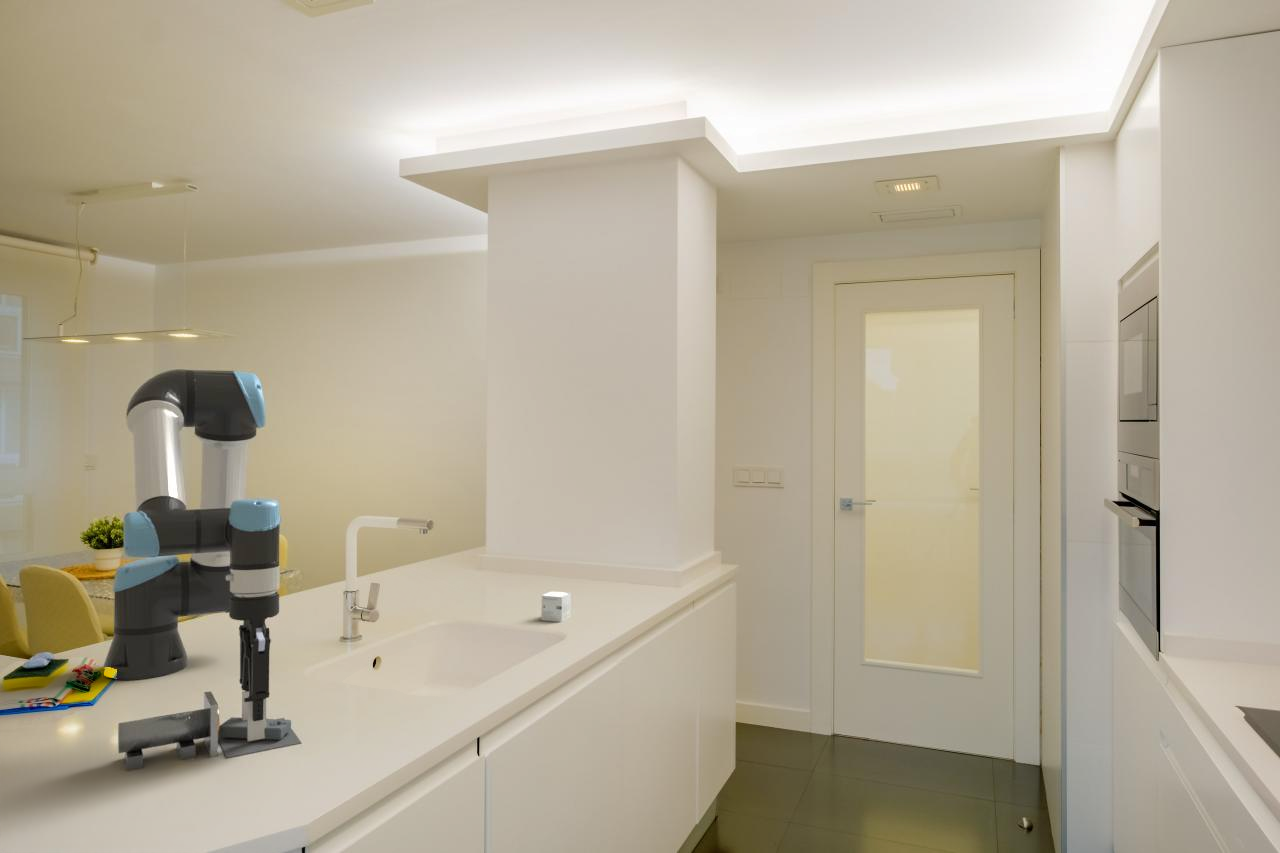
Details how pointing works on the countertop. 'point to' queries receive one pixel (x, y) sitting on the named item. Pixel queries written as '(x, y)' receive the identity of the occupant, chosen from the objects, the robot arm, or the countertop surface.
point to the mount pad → (255, 744)
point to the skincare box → (556, 606)
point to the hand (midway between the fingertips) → (253, 734)
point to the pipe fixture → (171, 733)
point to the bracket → (239, 728)
